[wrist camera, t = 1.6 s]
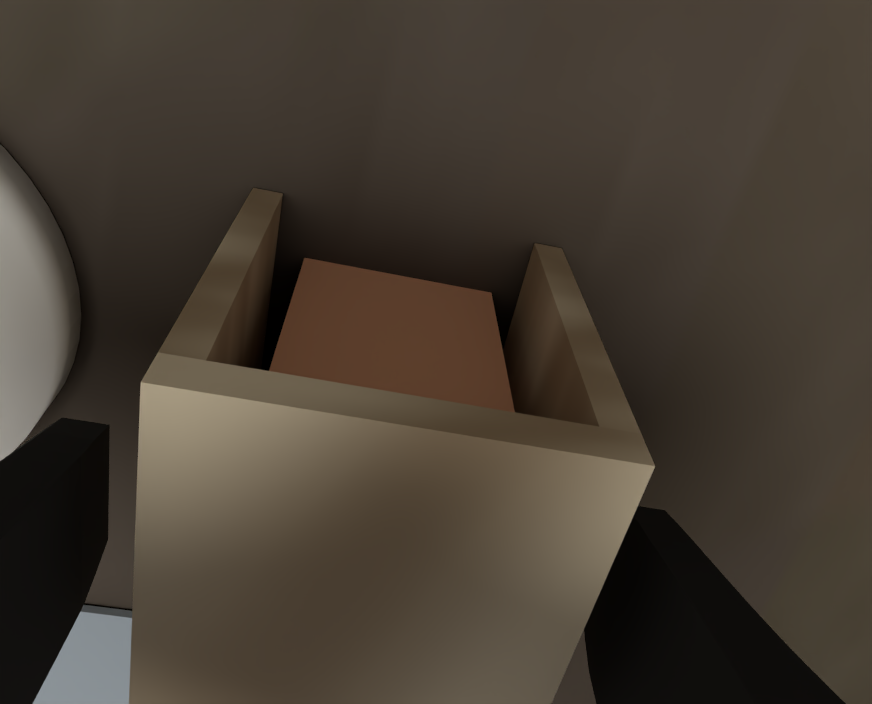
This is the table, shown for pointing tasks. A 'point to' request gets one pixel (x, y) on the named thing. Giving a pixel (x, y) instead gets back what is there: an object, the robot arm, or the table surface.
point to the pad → (92, 660)
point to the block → (394, 335)
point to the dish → (32, 306)
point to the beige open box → (371, 508)
